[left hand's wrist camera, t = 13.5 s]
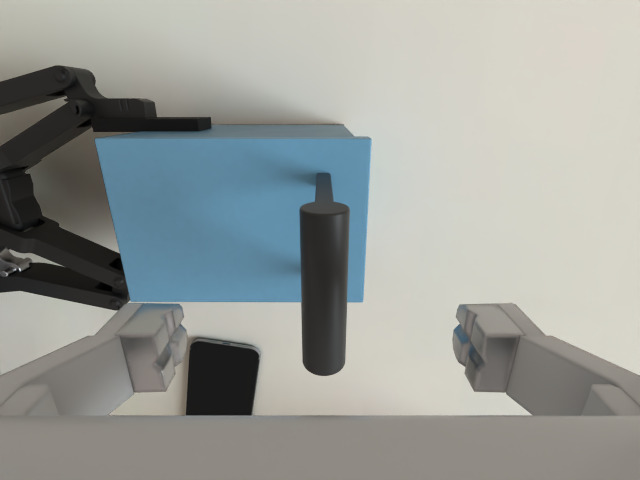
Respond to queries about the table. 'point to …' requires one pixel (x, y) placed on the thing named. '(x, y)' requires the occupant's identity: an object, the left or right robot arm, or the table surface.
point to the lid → (245, 225)
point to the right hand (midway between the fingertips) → (213, 199)
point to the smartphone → (221, 378)
